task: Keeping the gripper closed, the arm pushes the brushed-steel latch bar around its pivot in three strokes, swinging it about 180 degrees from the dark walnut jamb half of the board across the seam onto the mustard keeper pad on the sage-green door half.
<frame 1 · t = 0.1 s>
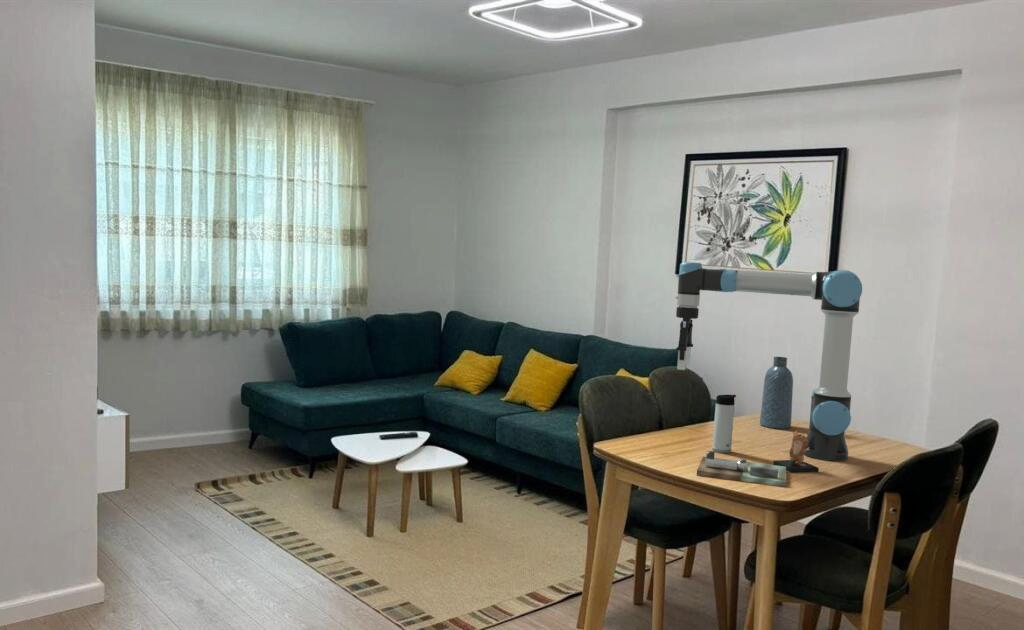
hand: (683, 367, 295), 28 cm above the table, fingers open, 13 cm apart
travel mug: (722, 451, 293), on the table
latch bar: (727, 460, 262), point 4 cm above the table, hinge at 0.0°
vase: (775, 426, 344), on the table
figurine: (795, 469, 274), on the table
door board: (742, 473, 264), on the table
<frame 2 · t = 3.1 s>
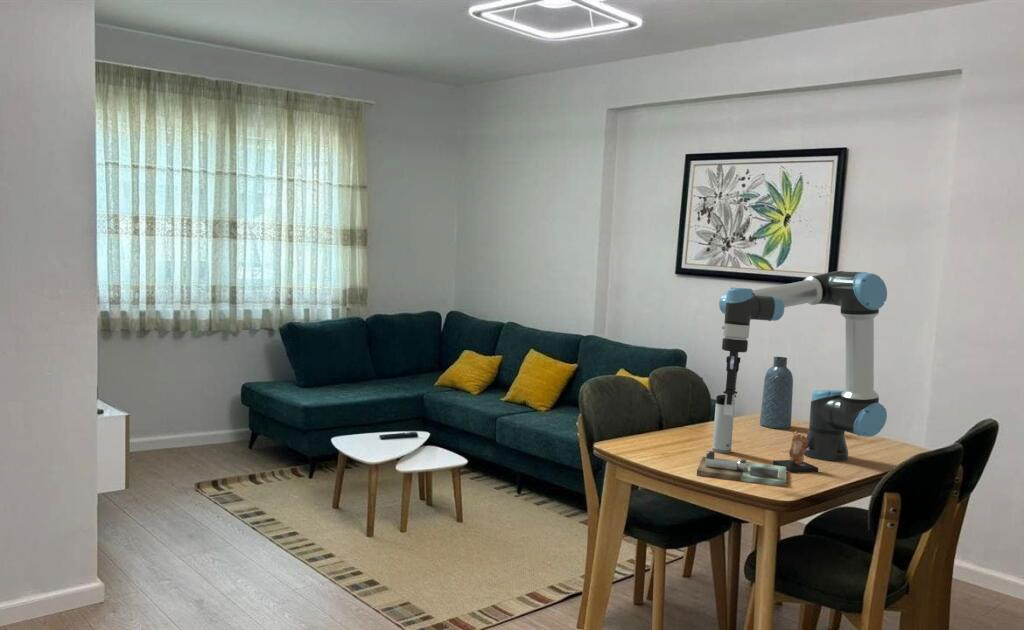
hand: (728, 414, 258), 19 cm above the table, fingers closed
nothing on the table moved.
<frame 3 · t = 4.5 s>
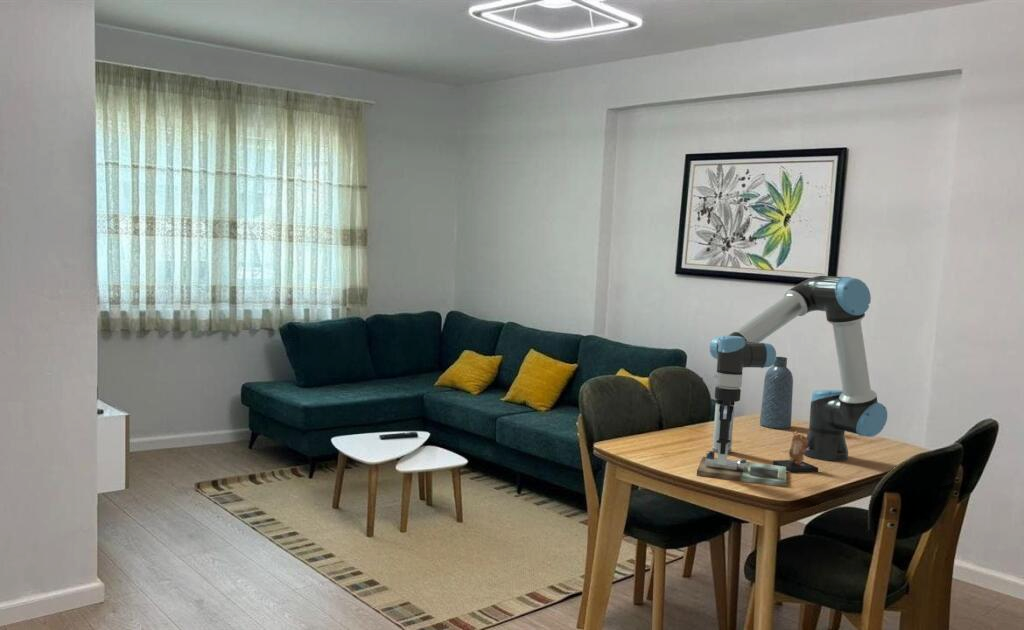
hand: (721, 463, 257), 4 cm above the table, fingers closed
nothing on the table moved.
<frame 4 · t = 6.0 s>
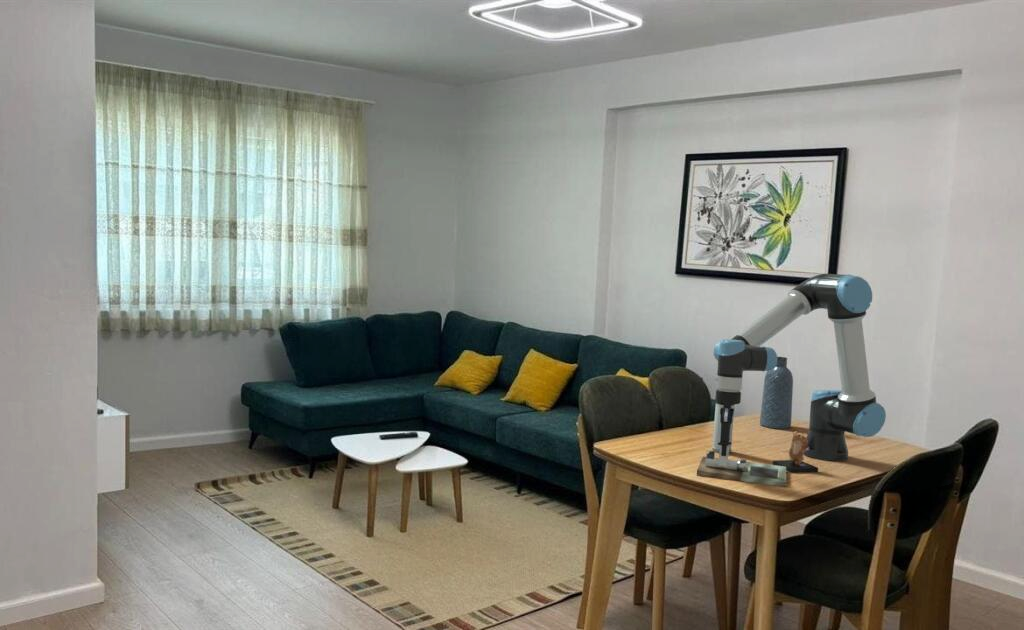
hand: (723, 465, 261), 3 cm above the table, fingers closed
latch bar: (727, 460, 262), point 4 cm above the table, hinge at 1.7°, touching gripper
everything else where it was.
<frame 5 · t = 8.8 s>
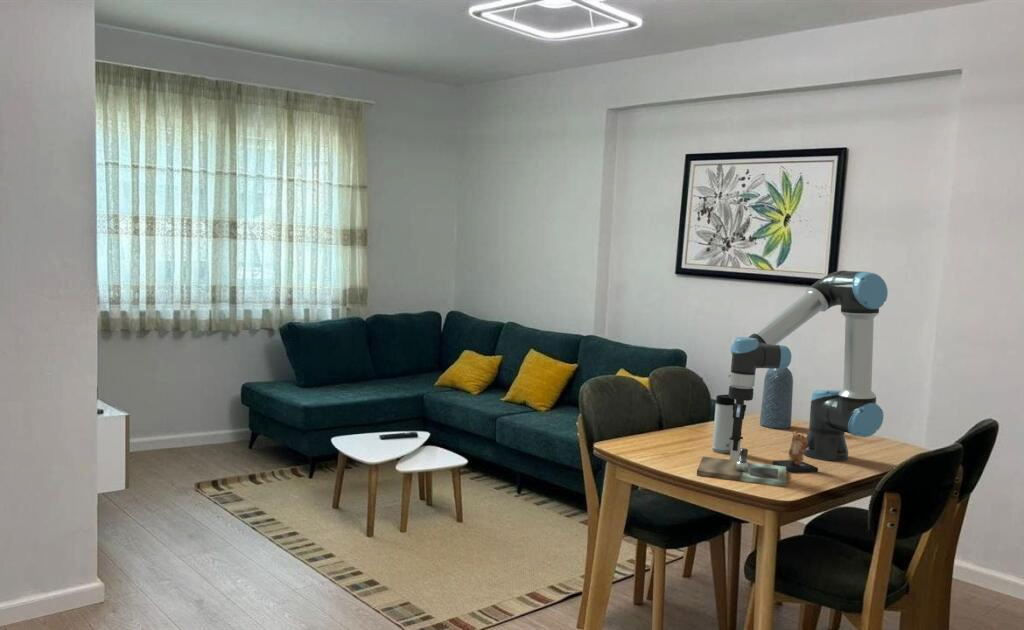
hand: (734, 459, 268), 3 cm above the table, fingers closed, pressing on latch bar
latch bar: (743, 459, 265), point 4 cm above the table, hinge at 89.0°, touching gripper
everything else where it was.
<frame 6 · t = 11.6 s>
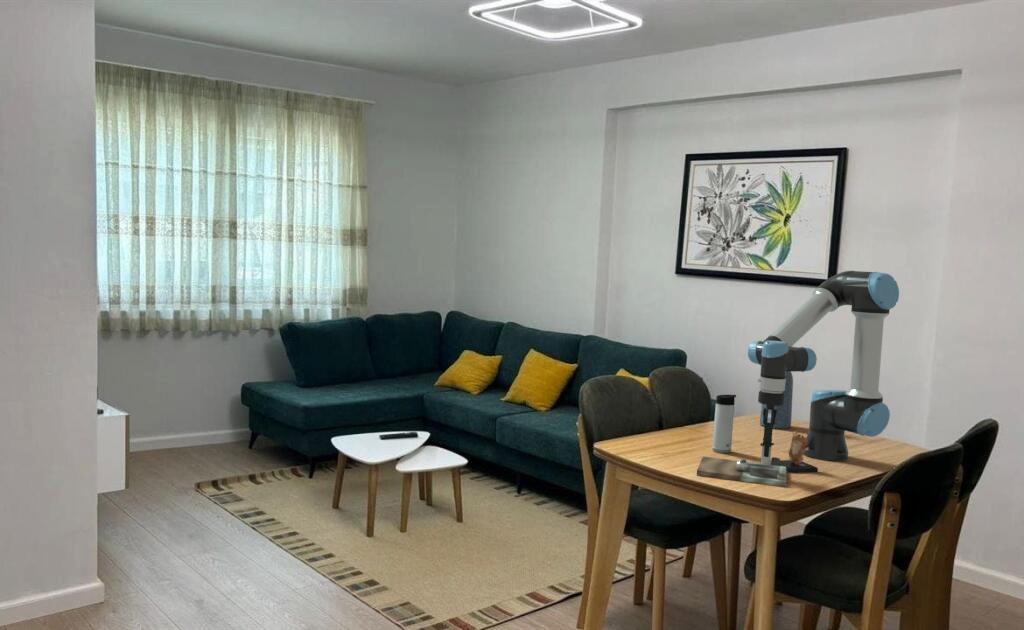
hand: (765, 466, 262), 3 cm above the table, fingers closed
latch bar: (757, 463, 260), point 4 cm above the table, hinge at 168.1°, touching gripper
everything else where it was.
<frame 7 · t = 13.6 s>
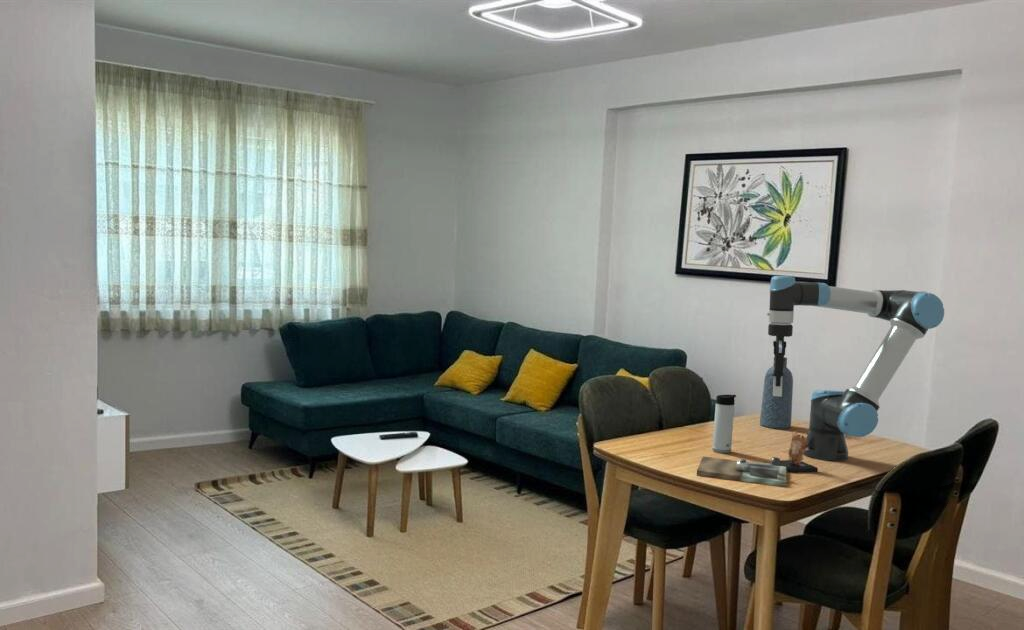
hand: (777, 395, 275), 23 cm above the table, fingers closed
latch bar: (757, 463, 260), point 4 cm above the table, hinge at 168.2°
everything else where it was.
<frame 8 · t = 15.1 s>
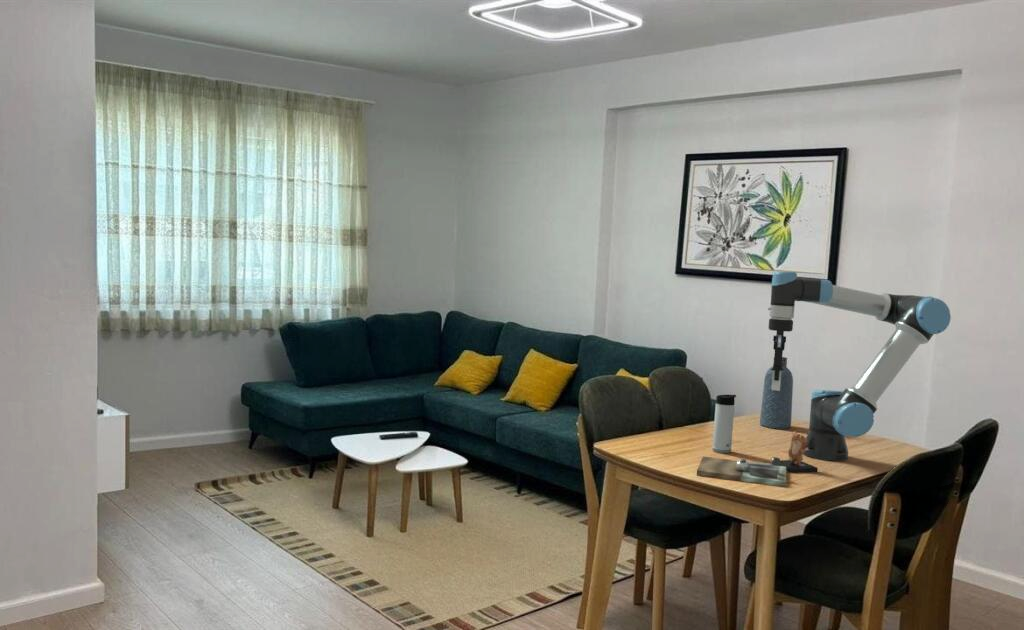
hand: (775, 390, 277), 24 cm above the table, fingers closed
nothing on the table moved.
at the end: latch bar at +168° (first picture: +0°) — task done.
